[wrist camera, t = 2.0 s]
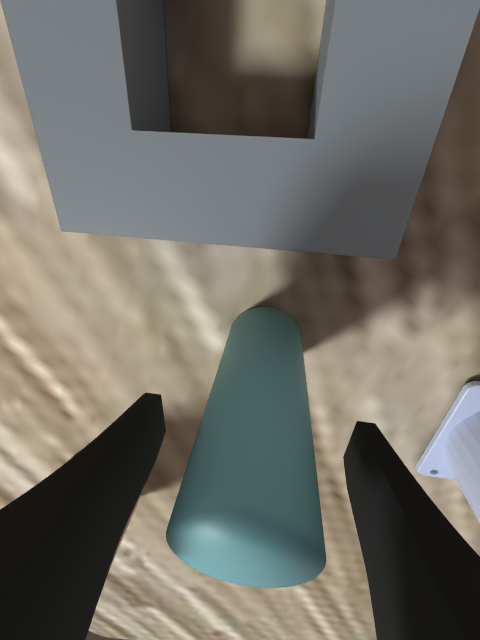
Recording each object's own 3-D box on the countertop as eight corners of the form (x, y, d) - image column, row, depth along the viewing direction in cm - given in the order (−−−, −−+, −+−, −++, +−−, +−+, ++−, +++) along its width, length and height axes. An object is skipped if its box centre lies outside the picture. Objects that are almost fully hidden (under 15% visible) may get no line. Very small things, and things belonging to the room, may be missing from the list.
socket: (513, -299, 6) (725, -723, 3) (367, 236, 12) (395, 259, 9) (30, -256, 7) (-143, -541, 4) (111, 215, 13) (61, 231, 10)
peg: (306, 310, 14) (343, 525, 6) (295, 370, 16) (310, 598, 8) (231, 302, 15) (158, 493, 6) (228, 362, 17) (171, 571, 8)
